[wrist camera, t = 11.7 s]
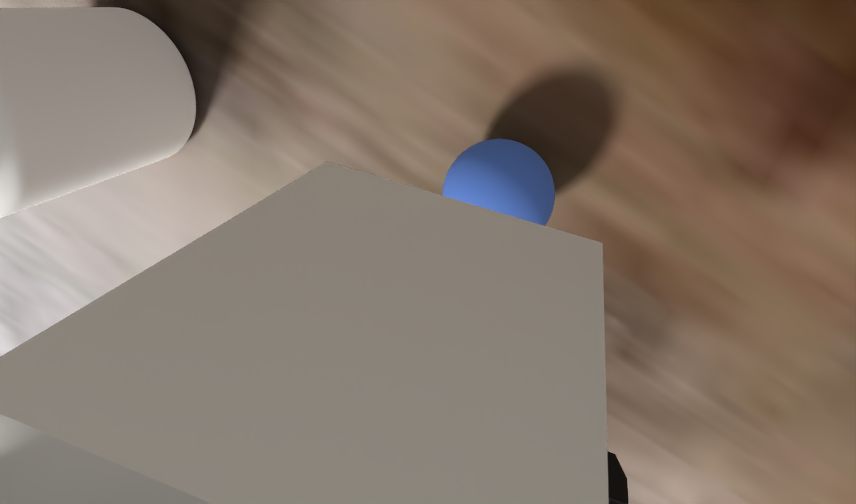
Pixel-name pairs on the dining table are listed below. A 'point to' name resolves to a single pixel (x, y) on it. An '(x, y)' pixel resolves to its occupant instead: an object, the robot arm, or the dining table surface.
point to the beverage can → (85, 100)
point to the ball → (503, 180)
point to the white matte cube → (325, 363)
